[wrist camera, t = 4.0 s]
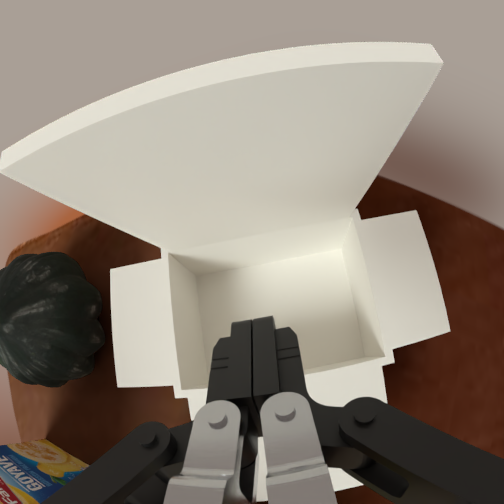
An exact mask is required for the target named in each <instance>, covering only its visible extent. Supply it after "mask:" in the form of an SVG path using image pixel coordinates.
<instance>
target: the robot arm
mask: <svg viewBox="0 0 504 504" xmlns="http://www.w3.org/2000/svg"><path fill="white" fill-rule="evenodd" d="M210 369H211V371H210V375H209V383H208V390H207V398H206V405H204V406H203V407H202V408H201V409H199V411H198V412H197V414H196V415H195V418H194V420H193V421H191V422H189V423H186V424H183V425H180V426H177V427H174V428H170V429H168V428H167V427H166V426H165V425H163V424H162V423H159V422H146V423H143V424H141V425H139V426H138V427H136V428H135V429H134V430H133V431H132V432H130V433H129V434H128V435H127V436H126V437H124V438H123V439H122V440H121V441H120V442H118V443H117V444H116V445H115V446H114V447H112V448H111V449H110V450H109V451H107V452H106V453H105V454H104V455H103V456H101V457H100V458H99V459H98V460H96V461H95V462H94V463H93V464H91V465H90V466H89V467H88V468H86V469H85V470H84V471H83V472H81V473H80V474H79V475H77V476H76V477H75V478H74V479H72V480H71V481H70V482H68V483H67V484H66V485H64V486H63V487H62V488H60V489H59V490H58V491H56V492H55V493H54V494H52V495H51V496H50V497H48V498H47V499H46V500H44V501H43V502H42V503H40V504H256V497H257V484H258V471H259V452H258V437H263V441H264V448H265V456H266V464H267V475H266V489H267V497H268V504H337V500H336V496H335V493H334V489H333V485H332V481H331V477H330V474H329V470H328V467H329V468H341V469H342V470H343V471H344V472H346V473H347V474H349V475H350V476H352V477H353V478H355V479H356V480H358V481H359V482H361V483H362V484H364V485H365V486H367V487H369V488H370V489H372V490H373V491H375V492H377V493H378V494H380V495H381V496H383V497H385V498H386V499H388V500H390V501H391V502H393V503H395V504H504V459H502V458H500V457H498V456H495V455H493V454H490V453H488V452H486V451H484V450H481V449H479V448H477V447H475V446H472V445H470V444H468V443H466V442H463V441H461V440H459V439H457V438H455V437H453V436H451V435H448V434H446V433H444V432H442V431H440V430H438V429H436V428H434V427H432V426H430V425H428V424H426V423H424V422H422V421H420V420H418V419H416V418H414V417H412V416H410V415H408V414H406V413H404V412H402V411H400V410H398V409H396V408H394V407H392V406H390V405H389V404H387V403H385V402H383V401H381V400H379V399H377V398H373V397H359V398H356V399H353V400H351V401H350V402H348V403H347V404H346V405H345V406H344V407H335V406H325V405H322V404H319V403H317V402H316V401H314V400H313V399H312V398H311V397H310V396H309V394H308V392H307V388H306V383H305V377H304V371H303V365H302V360H301V354H300V349H299V343H298V338H297V334H296V333H295V332H294V331H293V330H292V329H291V328H290V327H285V328H279V329H276V326H275V322H274V318H273V315H272V316H267V317H261V318H255V319H253V321H252V319H250V320H244V321H237V322H232V324H231V334H230V337H224V338H220V339H219V340H218V342H217V343H216V345H215V346H214V348H213V353H212V362H211V367H210Z"/></svg>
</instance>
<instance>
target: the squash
mask: <svg viewBox="0 0 504 504" xmlns="http://www.w3.org/2000/svg"><path fill="white" fill-rule="evenodd" d="M101 311H102V297H101V294H100V292H99V291H98V290H97V289H96V288H95V287H94V286H93V285H92V284H90V283H89V282H88V281H86V277H85V275H84V272H83V271H82V269H81V267H80V266H79V264H78V263H77V262H76V261H75V260H74V259H72V258H71V257H69V256H67V255H66V254H64V253H61V252H47V253H42V254H39V255H38V254H24V255H21V256H18V257H17V258H15V259H14V260H13V261H12V262H11V263H10V264H9V265H8V266H7V267H5V268H3V269H1V270H0V364H1V365H2V366H3V367H5V368H6V369H7V370H8V371H9V373H10V374H11V375H12V376H13V377H15V378H16V379H18V380H20V381H21V382H23V383H25V384H32V385H37V384H39V385H43V386H46V387H60V386H62V385H64V384H65V383H66V382H67V381H68V380H73V379H78V378H82V377H84V376H86V375H88V374H90V373H91V372H92V371H93V369H94V365H95V358H94V353H95V352H96V351H97V350H98V349H100V348H101V347H102V346H103V345H104V343H105V333H104V330H103V328H102V326H101V324H100V322H99V321H98V320H97V318H98V316H99V315H100V313H101Z"/></svg>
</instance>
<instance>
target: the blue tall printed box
mask: <svg viewBox="0 0 504 504" xmlns="http://www.w3.org/2000/svg"><path fill="white" fill-rule="evenodd" d="M88 467H89V465H88V464H86V463H84V462H82V461H80V460H79V459H77V458H75V457H73V456H72V455H70V454H68V453H67V452H65V451H63V450H62V449H60V448H59V447H57V446H55V445H54V444H52V443H51V442H49V441H48V440H46V439H41V440H35V441H29V442H23V443H16V444H9V445H1V446H0V504H40V503H42V502H43V501H44V500H46V499H47V498H48V497H50V496H51V495H52V494H54V493H55V492H56V491H58V490H59V489H60V488H62V487H63V486H64V485H66V484H67V483H68V482H70V481H71V480H72V479H74V478H75V477H76V476H77V475H79V474H80V473H81V472H83V471H84V470H85V469H86V468H88Z"/></svg>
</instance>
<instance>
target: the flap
mask: <svg viewBox="0 0 504 504" xmlns="http://www.w3.org/2000/svg"><path fill="white" fill-rule="evenodd" d="M443 64H444V63H443V61H442V60H441V58H440V57H439V55H438V53H437V52H436V51H435V49H434V48H433V46H432V44H421V43H403V42H402V43H401V42H354V43H336V44H321V45H311V46H302V47H293V48H286V49H279V50H272V51H266V52H260V53H255V54H249V55H244V56H239V57H234V58H230V59H225V60H221V61H216V62H212V63H208V64H204V65H200V66H197V67H193V68H189V69H186V70H182V71H179V72H176V73H172V74H169V75H166V76H163V77H159V78H156V79H153V80H150V81H148V82H145V83H142V84H139V85H136V86H134V87H131V88H128V89H126V90H123V91H120V92H118V93H115V94H113V95H110V96H108V97H106V98H103V99H101V100H98V101H96V102H94V103H92V104H89V105H87V106H85V107H83V108H81V109H79V110H76V111H74V112H72V113H70V114H68V115H66V116H64V117H62V118H60V119H58V120H56V121H54V122H52V123H50V124H48V125H46V126H45V127H43V128H41V129H39V130H37V131H35V132H34V133H32V134H30V135H28V136H27V137H25V138H23V139H22V140H20V141H18V142H17V143H15V144H13V145H12V146H10V147H9V148H7V149H5V150H4V151H3V152H2V154H1V160H0V173H1V174H3V175H5V176H7V177H9V178H11V179H13V180H15V181H17V182H20V183H21V184H23V185H26V186H28V187H30V188H32V189H34V190H36V191H38V192H40V193H42V194H44V195H46V196H48V197H50V198H52V199H55V200H57V201H59V202H61V203H63V204H65V205H67V206H69V207H71V208H74V209H76V210H78V211H80V212H82V213H84V214H86V215H89V216H91V217H93V218H95V219H97V220H100V221H102V222H104V223H106V224H108V225H110V226H113V227H115V228H117V229H119V230H122V231H124V232H126V233H128V234H130V235H133V236H135V237H137V238H139V239H142V240H144V241H146V242H149V243H151V244H153V245H155V246H158V247H160V248H162V249H165V250H167V251H169V252H174V251H178V250H183V249H188V248H193V247H198V246H203V245H208V244H213V243H218V242H223V241H228V240H233V239H238V238H243V237H248V236H254V235H259V234H264V233H269V232H274V231H279V230H285V229H290V228H295V227H300V226H306V225H311V224H316V223H322V222H327V221H332V220H338V219H343V218H349V217H350V215H351V214H352V212H353V211H354V209H355V208H356V206H357V205H358V203H359V202H360V200H361V199H362V197H363V196H364V194H365V193H366V191H367V190H368V188H369V187H370V185H371V184H372V182H373V181H374V179H375V178H376V176H377V175H378V173H379V171H380V170H381V168H382V167H383V165H384V164H385V162H386V160H387V159H388V157H389V156H390V154H391V152H392V151H393V149H394V148H395V146H396V144H397V143H398V141H399V140H400V138H401V136H402V135H403V133H404V131H405V130H406V128H407V127H408V125H409V123H410V121H411V120H412V118H413V116H414V115H415V113H416V111H417V110H418V108H419V106H420V105H421V103H422V101H423V99H424V98H425V96H426V94H427V92H428V91H429V89H430V87H431V85H432V83H433V82H434V80H435V78H436V77H437V75H438V73H439V71H440V69H441V67H442V66H443Z"/></svg>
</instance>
